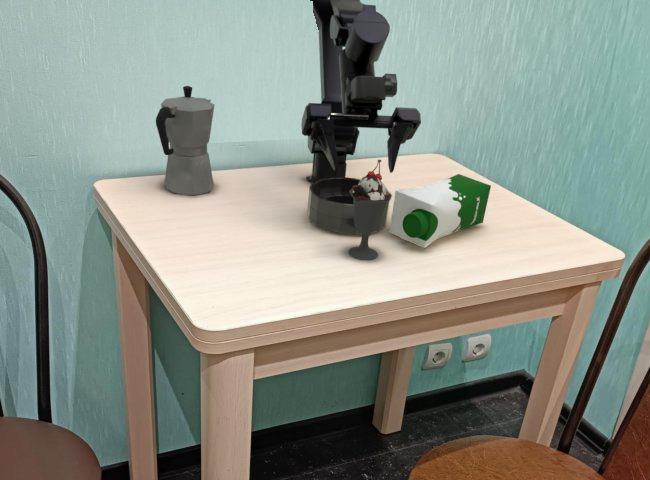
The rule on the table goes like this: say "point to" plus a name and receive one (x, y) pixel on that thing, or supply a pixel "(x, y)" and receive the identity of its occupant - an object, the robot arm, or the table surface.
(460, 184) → the milk carton
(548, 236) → the table surface
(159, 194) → the table surface
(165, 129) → the coffeepot
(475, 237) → the table surface
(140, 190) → the table surface
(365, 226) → the sundae
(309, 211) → the bowl
